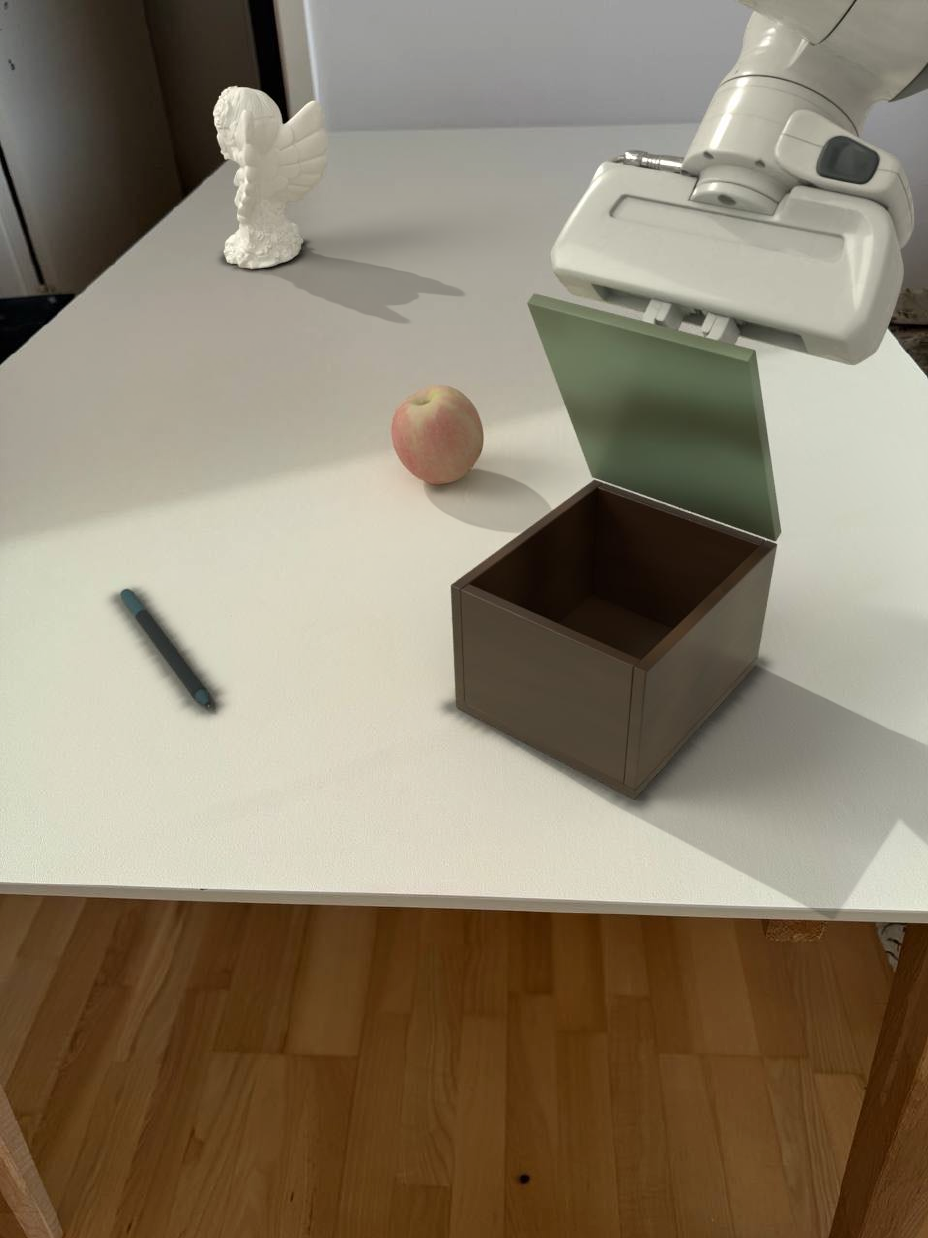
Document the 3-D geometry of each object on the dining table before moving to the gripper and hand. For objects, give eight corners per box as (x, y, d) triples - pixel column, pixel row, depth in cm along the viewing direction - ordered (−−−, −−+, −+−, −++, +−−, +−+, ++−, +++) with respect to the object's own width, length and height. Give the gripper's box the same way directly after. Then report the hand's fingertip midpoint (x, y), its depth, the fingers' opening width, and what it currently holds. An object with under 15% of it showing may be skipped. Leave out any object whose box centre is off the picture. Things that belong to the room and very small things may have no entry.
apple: (426, 447, 100) (422, 365, 95) (500, 466, 97) (499, 382, 92) (377, 486, 94) (370, 401, 89) (454, 508, 91) (450, 421, 86)
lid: (748, 361, 54) (756, 349, 54) (526, 302, 61) (533, 292, 61) (776, 542, 68) (782, 532, 68) (591, 477, 75) (597, 468, 75)
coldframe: (634, 800, 64) (646, 672, 59) (455, 707, 71) (449, 584, 66) (756, 664, 74) (778, 543, 68) (588, 594, 81) (594, 478, 75)
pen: (203, 698, 71) (219, 699, 72) (120, 585, 82) (135, 587, 82) (198, 712, 71) (214, 713, 72) (116, 598, 82) (131, 600, 83)
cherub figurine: (284, 230, 150) (264, 70, 138) (343, 250, 143) (328, 83, 131) (205, 255, 143) (176, 89, 131) (263, 277, 136) (239, 103, 124)
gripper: (591, 114, 65) (493, 324, 65) (932, 166, 55) (815, 415, 55) (626, 174, 71) (536, 368, 71) (943, 231, 60) (837, 459, 60)
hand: (660, 389), depth 63 cm, fingers closed, pressing on lid
